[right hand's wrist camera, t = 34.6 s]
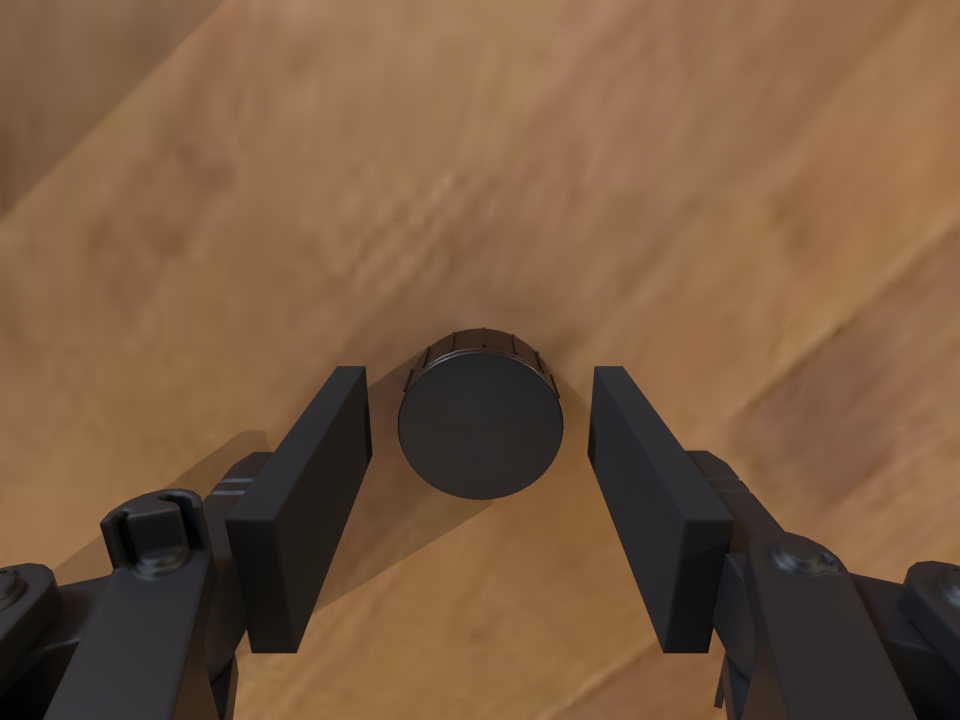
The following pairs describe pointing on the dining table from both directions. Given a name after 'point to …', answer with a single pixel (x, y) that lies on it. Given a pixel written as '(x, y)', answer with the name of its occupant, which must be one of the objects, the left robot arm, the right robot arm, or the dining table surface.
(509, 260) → the dining table surface
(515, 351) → the cap
